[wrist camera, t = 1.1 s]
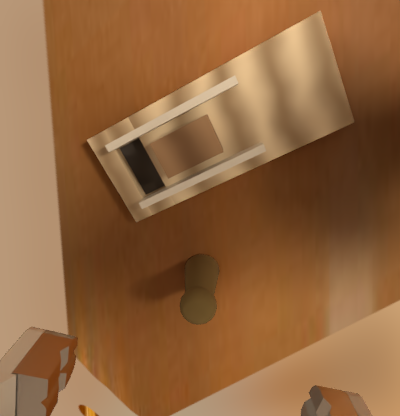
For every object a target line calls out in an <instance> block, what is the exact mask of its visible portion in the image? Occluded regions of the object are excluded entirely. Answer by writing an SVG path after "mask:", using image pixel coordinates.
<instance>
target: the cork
mask: <svg viewBox="0 0 400 416" xmlns="http://www.w3.org/2000/svg"><path fill="white" fill-rule="evenodd" d="M218 275H219V265H218V263H217V262H216V261H215V259H214V258H212V257H210V256H208V255H204V254H200V255H195V256H192V257H191V258H190V259H189V260H188V261H187V262H186V265H185V293H184V295H183V296H182V298H181V302H180V310H181V313H182V315H183V317H184V318H185V319H186V320H187V321H188V322H190V323H192V324H204V323H207V322H208V321H210V320H211V319H212V318H213V317H214V315H215V312H216V309H217V304H216V299H215V297H214V293H215V288H216V284H217V280H218Z"/></svg>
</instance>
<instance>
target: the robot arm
mask: <svg viewBox="0 0 400 416" xmlns="http://www.w3.org/2000/svg"><path fill="white" fill-rule="evenodd" d="M77 341H78V338H77V337H75V336H71V335H66V334H62V333H58V332H54V331H49V330H44V329H40V328H35V327H31V328H29V329H27V330H26V331H25V333H24V334H23V335H22V336H21V337H20V338H19V339H18V340H17V342H16V343H15V344H14V345H13V346H12V347H11V348H10V350H9V351H8V352H7V353H6V354H5V355H4V357H3V358H2V359H1V360H0V416H50V415H51V413H52V411H53V409H54V407H55V406H56V404H57V401H58V392H60V391H61V390H63V389H64V388H65V387H66V385H67V383H68V381H69V379H70V377H71V374H72V372H73V369H74V365H75V360H76V355H75V354H74V350H75V349H76V347H77ZM309 394H310V397H311V398H310V399H309V400H307V401H306V402H304V404H303V407H302V409H301V416H372V415H371V413H370V411H369V409H368V407H367V405H366V404H365V402H364V400H363V398H362V397H361V396H360V395H359V394H357V393H352V392H347V391H342V390H337V389H332V388H327V387H321V386H316V385H315V386H313V387H312V388H311V390H310V392H309Z"/></svg>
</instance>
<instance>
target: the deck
mask: <svg viewBox="0 0 400 416" xmlns="http://www.w3.org/2000/svg"><path fill="white" fill-rule="evenodd" d="M234 75H235V76H236V79H237V81H238V85H237V86H235V87H233V88H231V89H229V90H227V91H225V92H223V93H222V94H220V95H218V96H216V97H214V98H212V99H210V100H208V101H207V102H205V103H203V104H201V105H199V106H197V107H195V108H193V109H191V110H190V111H188V112H186V113H184V114H182V115H180V116H178V117H176V118H175V119H173V120H171V121H169V122H167V123H165V124H163V125H161V126H160V127H158V128H156V129H154V130H152V131H150V132H148V133H146V134H144V135H143V136H141V137H139V138H137V139H135V140H133V141H131V142H129V143H128V144H126V145H124V146H122V147H120V148H118V149H116V150H114V151H111V152H108V150H107V149H106V147H105V145H107V144H109V143H110V142H112V141H114V140H116V139H118V138H120V137H122V136H123V135H125V134H127V133H129V132H131V131H133V130H135V129H136V128H138V127H140V126H142V125H144V124H146V123H147V122H149V121H151V120H153V119H155V118H157V117H159V116H160V115H162V114H164V113H166V112H168V111H170V110H172V109H173V108H175V107H177V106H179V105H181V104H183V103H184V102H186V101H188V100H190V99H192V98H194V97H196V96H197V95H199V94H201V93H203V92H205V91H207V90H209V89H210V88H212V87H214V86H216V85H218V84H220V83H222V82H223V81H225V80H227V79H229V78H231V77H233V76H234ZM206 114H208V117H209V119H210V121H211V123H212V125H213V128H214V130H215V132H216V134H217V136H218V138H219V141H220V143H221V145H222V147H223V153H221V154H218V155H216V156H214V157H212V158H210V159H208V160H206V161H204V162H202V163H200V164H198V165H196V166H194V167H192V168H189V169H187V170H185V171H183V172H181V173H179V174H177V175H175V176H173V177H171V178H169V179H168V177H167V176H166V174H165V172H164V170H163V168H162V166H161V164H160V162H159V161H158V159H157V157H156V155H155V153H154V151H153V149H152V148H151V146H150V143H152V142H154V141H156V140H158V139H160V138H162V137H164V136H166V135H168V134H170V133H172V132H174V131H175V130H177V129H179V128H181V127H183V126H185V125H187V124H189V123H191V122H193V121H195V120H197V119H198V118H200V117H202V116H204V115H206ZM352 123H354V118H353V115H352V112H351V109H350V105H349V102H348V99H347V95H346V92H345V89H344V86H343V82H342V79H341V76H340V73H339V69H338V66H337V63H336V59H335V56H334V53H333V50H332V46H331V43H330V40H329V37H328V33H327V30H326V27H325V24H324V20H323V17H322V14H321V11H319V12H317V13H315V14H314V15H312V16H310V17H308V18H306V19H304V20H303V21H301V22H299V23H297V24H295V25H294V26H292V27H290V28H288V29H286V30H285V31H283V32H281V33H279V34H277V35H276V36H274V37H272V38H270V39H268V40H267V41H265V42H263V43H261V44H259V45H258V46H256V47H254V48H252V49H250V50H249V51H247V52H245V53H243V54H241V55H240V56H238V57H236V58H234V59H232V60H230V61H229V62H227V63H225V64H223V65H221V66H220V67H218V68H216V69H214V70H212V71H211V72H209V73H207V74H205V75H203V76H202V77H200V78H198V79H196V80H194V81H193V82H191V83H189V84H187V85H185V86H184V87H182V88H180V89H178V90H176V91H175V92H173V93H171V94H169V95H167V96H166V97H164V98H162V99H160V100H158V101H156V102H155V103H153V104H151V105H149V106H147V107H146V108H144V109H142V110H140V111H138V112H137V113H135V114H133V115H131V116H129V117H128V118H126V119H124V120H122V121H120V122H119V123H117V124H115V125H113V126H111V127H110V128H108V129H106V130H104V131H102V132H101V133H99V134H97V135H95V136H93V137H92V138H90V139H88V140H87V141H88V143H89V145H90V146H91V148H92V150H93V151H94V153H95V155H96V156H97V158H98V160H99V161H100V163H101V165H102V166H103V168H104V170H105V171H106V173H107V175H108V176H109V178H110V179H111V181H112V183H113V184H114V186H115V188H116V189H117V191H118V193H119V194H120V196H121V198H122V199H123V201H124V203H125V204H126V206H127V208H128V209H129V211H130V213H131V214H132V216H133V218H134V219H135V221H136V222H138V221H140V220H143V219H145V218H147V217H149V216H151V215H153V214H156V213H158V212H160V211H162V210H164V209H167V208H169V207H171V206H173V205H175V204H177V203H180V202H182V201H184V200H186V199H188V198H191V197H193V196H195V195H197V194H199V193H201V192H204V191H206V190H208V189H210V188H212V187H215V186H217V185H219V184H221V183H223V182H225V181H228V180H230V179H232V178H234V177H236V176H239V175H241V174H243V173H245V172H247V171H249V170H252V169H254V168H256V167H258V166H260V165H262V164H265V163H267V162H269V161H271V160H273V159H276V158H278V157H280V156H282V155H284V154H286V153H289V152H291V151H293V150H295V149H297V148H300V147H302V146H304V145H306V144H308V143H310V142H313V141H315V140H317V139H319V138H321V137H324V136H326V135H328V134H330V133H332V132H334V131H337V130H339V129H341V128H343V127H345V126H348V125H350V124H352ZM260 142H261V143H263V144H264V147H265V149H266V151H265V152H263V153H261V154H259V155H257V156H255V157H253V158H250V159H248V160H246V161H244V162H242V163H240V164H238V165H235V166H233V167H231V168H229V169H227V170H225V171H223V172H221V173H218V174H216V175H214V176H212V177H210V178H208V179H206V180H203V181H201V182H199V183H197V184H195V185H193V186H191V187H188V188H186V189H184V190H182V191H180V192H178V193H176V194H173V195H171V196H169V197H167V198H165V199H163V200H161V201H159V202H156V203H154V204H152V205H150V206H148V207H146V208H144V209H142V208H141V207H140V205H139V202H140V201H141V200H142V199H143V198H144V197H146V196H148V195H151V194H153V193H155V192H157V191H159V190H161V189H163V188H165V187H167V186H169V185H172V184H174V183H176V182H178V181H180V180H182V179H184V178H186V177H188V176H190V175H193V174H195V173H197V172H199V171H201V170H203V169H205V168H207V167H209V166H211V165H213V164H216V163H218V162H220V161H222V160H224V159H226V158H228V157H230V156H232V155H234V154H237V153H239V152H241V151H243V150H245V149H247V148H249V147H251V146H253V145H255V144H257V143H260Z"/></svg>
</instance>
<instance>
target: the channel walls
mask: <svg viewBox="0 0 400 416" xmlns="http://www.w3.org/2000/svg"><path fill="white" fill-rule="evenodd" d="M237 85H238V81H237V79H236V76H235V75H234V76H233V77H231V78H229V79H227V80H225V81H223V82H222V83H220V84H218V85H216V86H214V87H212V88H210V89H209V90H207V91H205V92H203V93H201V94H199V95H197V96H196V97H194V98H192V99H190V100H188V101H186V102H184V103H183V104H181V105H179V106H177V107H175V108H173V109H172V110H170V111H168V112H166V113H164V114H162V115H160V116H159V117H157V118H155V119H153V120H151V121H149V122H147V123H146V124H144V125H142V126H140V127H138V128H136V129H135V130H133V131H131V132H129V133H127V134H125V135H123V136H122V137H120V138H118V139H116V140H114V141H112V142H110V143H109V144H107V145H105V147H106V149H107V150H108V152H111V151H114V150H116V149H118V148H120V147H122V146H124V145H126V144H128V143H129V142H131V141H133V140H135V139H137V138H139V137H141V136H143V135H144V134H146V133H148V132H150V131H152V130H154V129H156V128H158V127H160V126H161V125H163V124H165V123H167V122H169V121H171V120H173V119H175V118H176V117H178V116H180V115H182V114H184V113H186V112H188V111H190V110H191V109H193V108H195V107H197V106H199V105H201V104H203V103H205V102H207V101H208V100H210V99H212V98H214V97H216V96H218V95H220V94H222V93H223V92H225V91H227V90H229V89H231V88H233V87H235V86H237ZM265 151H266V149H265V147H264V144H263V143H261V142H260V143H257V144H255V145H253V146H251V147H249V148H247V149H245V150H243V151H241V152H239V153H237V154H234V155H232V156H230V157H228V158H226V159H224V160H222V161H220V162H218V163H216V164H213V165H211V166H209V167H207V168H205V169H203V170H201V171H199V172H197V173H195V174H193V175H190V176H188V177H186V178H184V179H182V180H180V181H178V182H176V183H174V184H172V185H169V186H167V187H165V188H163V189H161V190H159V191H157V192H155V193H153V194H151V195H148V196H146V197H144V198H143V199H142V200H141V201H140V202H139V205H140V207H141V208H142V209H144V208H146V207H148V206H150V205H152V204H154V203H156V202H159V201H161V200H163V199H165V198H167V197H169V196H171V195H173V194H176V193H178V192H180V191H182V190H184V189H186V188H188V187H191V186H193V185H195V184H197V183H199V182H201V181H203V180H206V179H208V178H210V177H212V176H214V175H216V174H218V173H221V172H223V171H225V170H227V169H229V168H231V167H233V166H235V165H238V164H240V163H242V162H244V161H246V160H248V159H250V158H253V157H255V156H257V155H259V154H261V153H263V152H265Z"/></svg>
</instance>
